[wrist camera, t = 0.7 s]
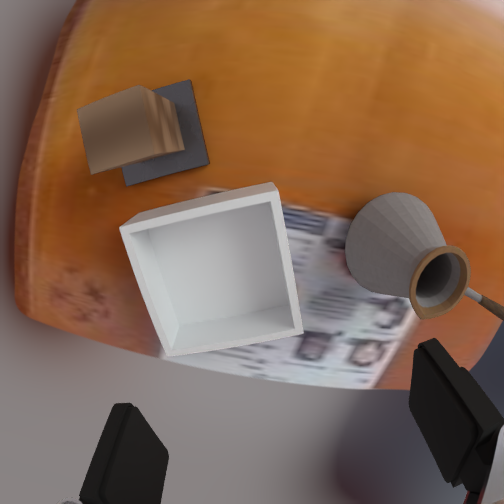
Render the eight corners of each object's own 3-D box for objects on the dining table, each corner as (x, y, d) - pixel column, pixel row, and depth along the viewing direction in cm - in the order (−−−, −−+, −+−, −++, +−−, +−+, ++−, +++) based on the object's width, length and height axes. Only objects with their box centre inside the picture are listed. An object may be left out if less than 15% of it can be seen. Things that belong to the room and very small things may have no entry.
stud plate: (111, 106, 29) (89, 102, 24) (191, 81, 29) (181, 70, 23) (129, 185, 32) (110, 193, 27) (209, 163, 32) (203, 167, 26)
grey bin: (139, 212, 33) (119, 227, 27) (272, 181, 32) (278, 190, 27) (176, 327, 38) (167, 356, 32) (295, 305, 37) (303, 333, 31)
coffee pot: (320, 264, 35) (364, 340, 21) (364, 170, 32) (441, 194, 18) (445, 313, 39) (504, 376, 24) (483, 242, 35) (557, 286, 21)
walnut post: (128, 117, 29) (76, 109, 18) (174, 102, 28) (139, 84, 18) (138, 162, 30) (91, 174, 20) (184, 149, 30) (154, 154, 20)
